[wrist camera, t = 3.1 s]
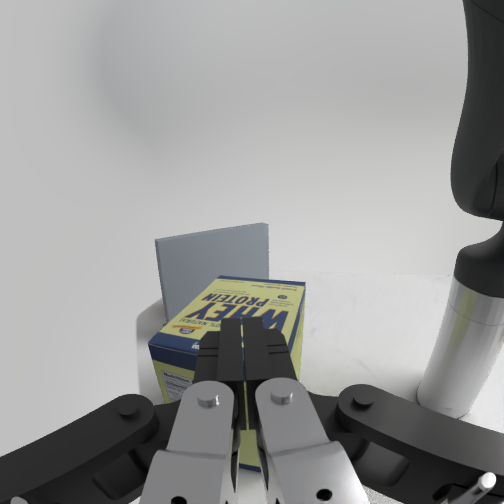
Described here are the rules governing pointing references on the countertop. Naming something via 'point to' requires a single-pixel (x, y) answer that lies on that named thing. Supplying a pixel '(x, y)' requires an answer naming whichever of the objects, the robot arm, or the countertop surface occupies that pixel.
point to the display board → (209, 261)
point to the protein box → (209, 319)
